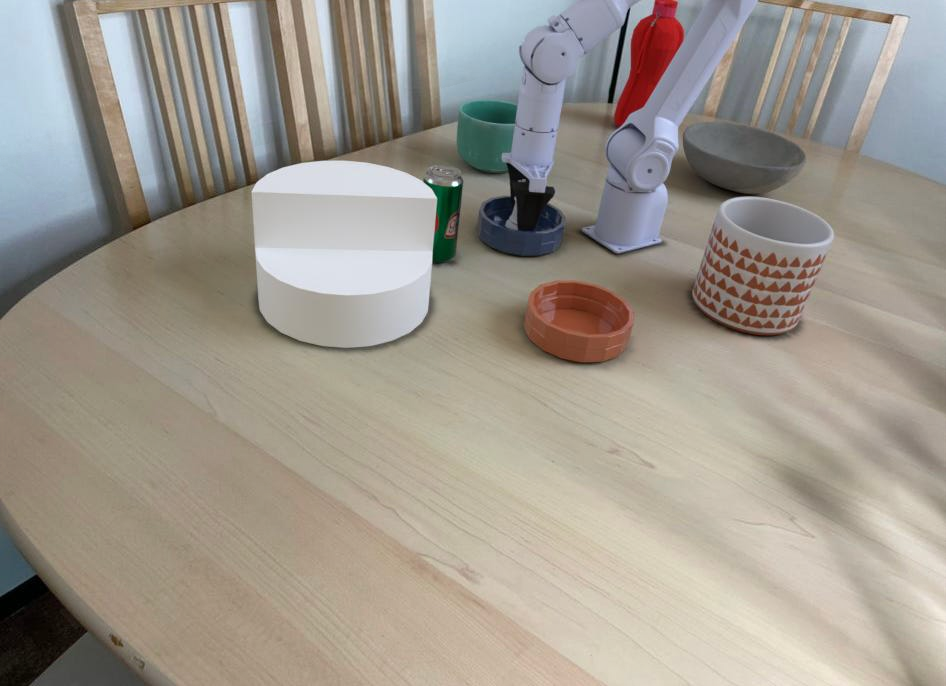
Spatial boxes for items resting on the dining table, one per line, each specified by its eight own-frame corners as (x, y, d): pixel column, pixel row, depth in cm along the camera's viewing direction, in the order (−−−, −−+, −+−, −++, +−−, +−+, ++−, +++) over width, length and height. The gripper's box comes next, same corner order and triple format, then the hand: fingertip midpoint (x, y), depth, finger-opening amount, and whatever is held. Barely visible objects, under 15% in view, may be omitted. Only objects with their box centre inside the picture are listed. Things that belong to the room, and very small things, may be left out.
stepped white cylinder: (251, 348, 79) (242, 234, 71) (264, 257, 95) (258, 156, 87) (438, 347, 83) (448, 240, 75) (420, 260, 99) (427, 164, 91)
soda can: (450, 267, 98) (459, 181, 91) (413, 260, 98) (419, 174, 92) (458, 250, 102) (468, 167, 95) (423, 244, 103) (429, 160, 96)
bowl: (803, 185, 138) (818, 143, 133) (776, 221, 123) (793, 175, 118) (693, 153, 146) (705, 113, 142) (655, 183, 131) (667, 139, 126)
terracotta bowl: (580, 298, 95) (585, 272, 93) (648, 348, 87) (656, 321, 85) (503, 320, 89) (507, 293, 87) (569, 376, 81) (575, 348, 79)
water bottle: (602, 127, 154) (629, -4, 140) (628, 117, 161) (657, -8, 147) (641, 140, 149) (673, 6, 135) (666, 130, 156) (699, 2, 142)
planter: (723, 271, 105) (752, 187, 98) (815, 314, 98) (853, 227, 91) (671, 300, 97) (698, 210, 90) (766, 350, 89) (804, 256, 82)
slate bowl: (526, 213, 114) (530, 190, 112) (578, 248, 107) (583, 224, 104) (460, 227, 108) (463, 202, 106) (510, 264, 100) (514, 239, 98)
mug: (497, 186, 122) (505, 129, 117) (439, 162, 128) (443, 107, 123) (551, 162, 134) (561, 110, 128) (495, 142, 139) (502, 91, 134)
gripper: (501, 105, 104) (489, 196, 111) (513, 142, 92) (499, 241, 99) (550, 109, 104) (535, 199, 112) (569, 146, 93) (550, 244, 100)
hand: (521, 219), depth 106 cm, fingers open, 7 cm apart
